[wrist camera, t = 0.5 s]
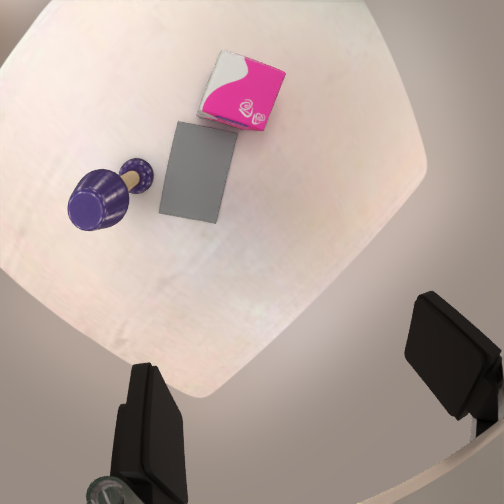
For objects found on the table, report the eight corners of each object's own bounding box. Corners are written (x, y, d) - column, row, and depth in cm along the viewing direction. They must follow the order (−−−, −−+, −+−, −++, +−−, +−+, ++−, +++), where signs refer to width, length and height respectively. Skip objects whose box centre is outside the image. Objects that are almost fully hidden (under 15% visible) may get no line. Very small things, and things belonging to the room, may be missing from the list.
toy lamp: (126, 202, 34) (79, 255, 19) (107, 169, 32) (45, 199, 17) (159, 182, 34) (132, 222, 19) (141, 148, 32) (98, 161, 17)
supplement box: (195, 117, 32) (196, 109, 21) (212, 72, 30) (221, 44, 20) (242, 132, 33) (264, 132, 23) (259, 87, 32) (288, 69, 21)
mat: (178, 121, 31) (177, 121, 31) (237, 133, 33) (237, 133, 33) (159, 211, 35) (158, 213, 34) (215, 222, 37) (215, 223, 36)
